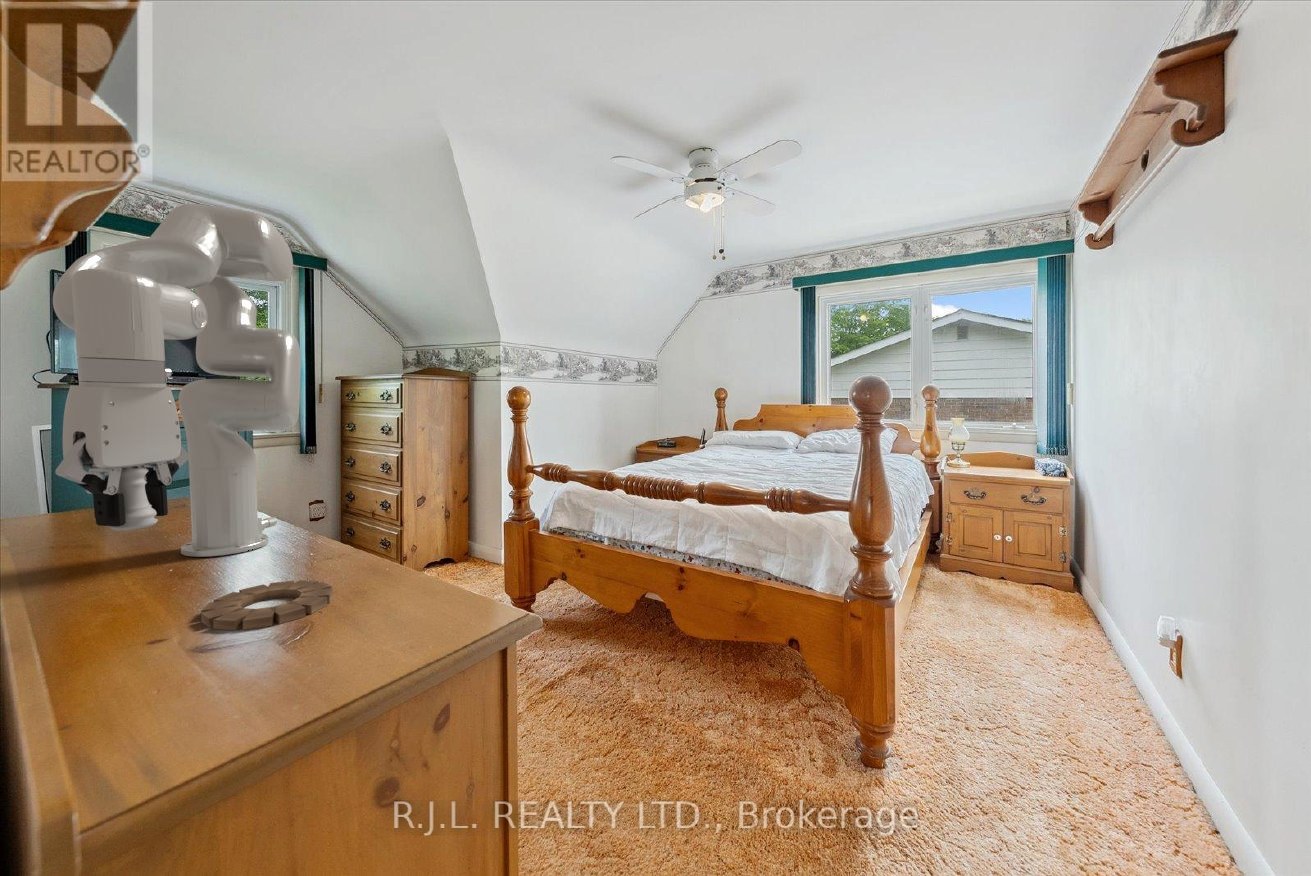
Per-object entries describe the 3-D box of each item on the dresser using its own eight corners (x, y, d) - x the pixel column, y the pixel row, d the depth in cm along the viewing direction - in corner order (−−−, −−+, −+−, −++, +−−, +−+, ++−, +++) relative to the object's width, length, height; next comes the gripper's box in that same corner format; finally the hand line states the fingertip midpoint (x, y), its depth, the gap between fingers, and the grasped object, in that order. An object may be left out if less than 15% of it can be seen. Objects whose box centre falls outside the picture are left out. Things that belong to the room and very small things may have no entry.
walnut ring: (266, 586, 77) (265, 578, 77) (353, 590, 76) (353, 582, 76) (172, 626, 63) (171, 617, 63) (277, 632, 62) (277, 623, 62)
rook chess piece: (126, 532, 62) (121, 467, 61) (98, 529, 63) (93, 465, 62) (167, 523, 66) (164, 462, 65) (141, 520, 67) (137, 460, 66)
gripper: (166, 376, 71) (173, 504, 73) (4, 371, 55) (19, 537, 56) (216, 377, 71) (222, 506, 72) (68, 373, 54) (81, 541, 56)
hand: (133, 518), depth 64 cm, fingers closed on rook chess piece, 4 cm apart
